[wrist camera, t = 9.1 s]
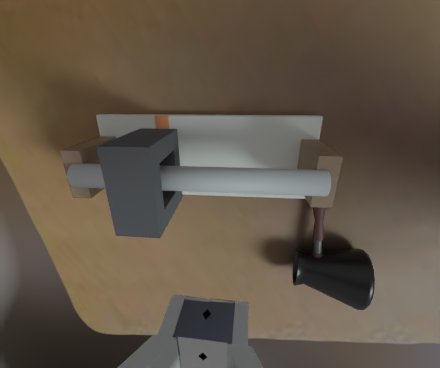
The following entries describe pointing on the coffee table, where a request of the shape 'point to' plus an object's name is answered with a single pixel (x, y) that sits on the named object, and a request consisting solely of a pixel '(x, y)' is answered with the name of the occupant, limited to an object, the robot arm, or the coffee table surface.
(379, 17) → the coffee table surface
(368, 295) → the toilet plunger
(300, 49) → the coffee table surface
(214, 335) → the robot arm
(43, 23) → the coffee table surface
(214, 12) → the coffee table surface
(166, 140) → the collar
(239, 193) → the rail
